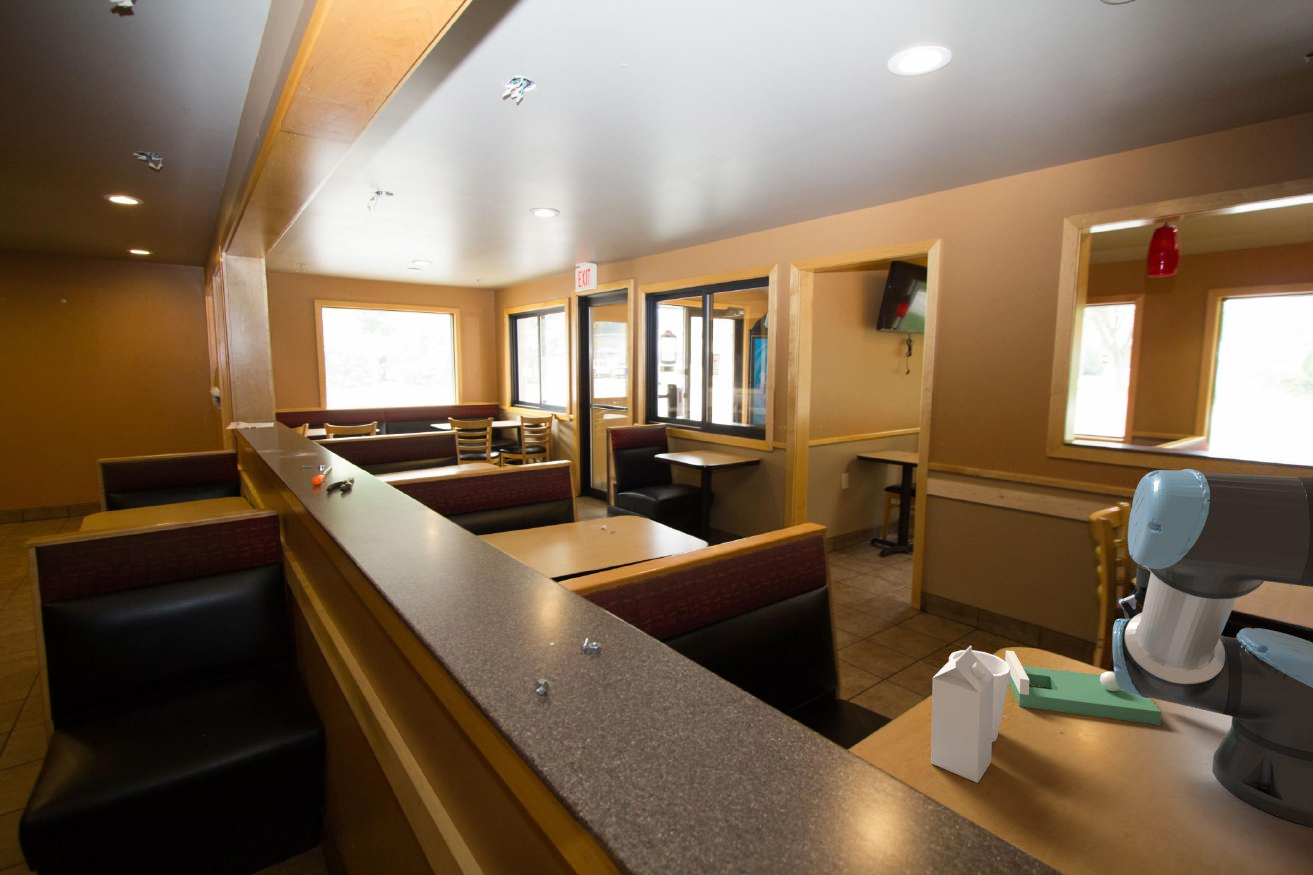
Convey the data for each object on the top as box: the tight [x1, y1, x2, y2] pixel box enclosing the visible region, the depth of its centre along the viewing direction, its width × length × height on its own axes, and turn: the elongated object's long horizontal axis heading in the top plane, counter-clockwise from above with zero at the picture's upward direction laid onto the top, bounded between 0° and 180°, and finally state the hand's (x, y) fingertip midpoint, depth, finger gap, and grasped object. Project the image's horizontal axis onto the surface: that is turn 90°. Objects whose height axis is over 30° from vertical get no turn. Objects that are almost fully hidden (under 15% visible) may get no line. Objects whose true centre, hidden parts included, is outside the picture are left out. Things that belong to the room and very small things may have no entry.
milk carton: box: [930, 645, 994, 784], centre depth 96 cm, size 7×7×19 cm
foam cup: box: [948, 649, 1010, 743], centre depth 105 cm, size 10×9×13 cm
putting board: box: [1004, 650, 1162, 726], centre depth 115 cm, size 12×22×6 cm, turn 71°
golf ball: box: [1100, 671, 1121, 691], centre depth 113 cm, size 4×4×4 cm
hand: (1155, 688), depth 111 cm, fingers closed
